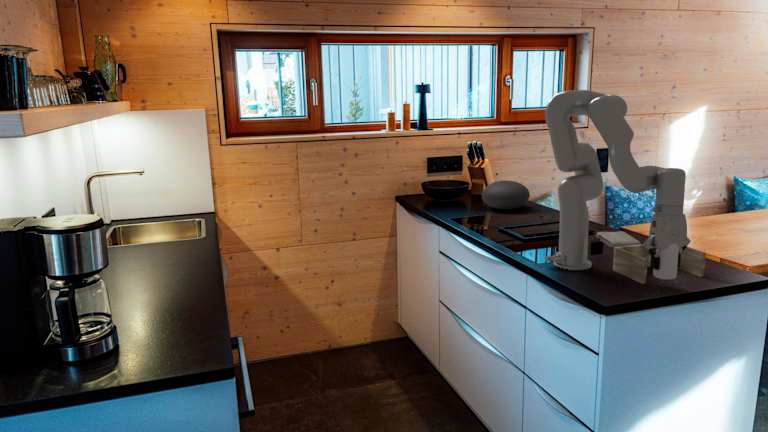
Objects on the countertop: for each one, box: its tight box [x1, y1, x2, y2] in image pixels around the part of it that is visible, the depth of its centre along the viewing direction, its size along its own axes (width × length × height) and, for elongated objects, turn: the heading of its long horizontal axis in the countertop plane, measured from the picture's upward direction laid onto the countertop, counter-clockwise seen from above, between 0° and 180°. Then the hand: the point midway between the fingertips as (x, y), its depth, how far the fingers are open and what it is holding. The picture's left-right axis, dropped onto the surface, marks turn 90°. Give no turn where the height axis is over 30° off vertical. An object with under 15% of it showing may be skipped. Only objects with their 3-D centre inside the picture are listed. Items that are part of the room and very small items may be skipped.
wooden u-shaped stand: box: [612, 243, 707, 285], centre depth 182 cm, size 22×15×8 cm
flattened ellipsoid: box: [481, 179, 531, 210], centre depth 291 cm, size 25×25×15 cm
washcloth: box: [596, 230, 641, 248], centre depth 222 cm, size 12×18×3 cm, turn 0°
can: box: [652, 241, 679, 281], centre depth 168 cm, size 6×6×12 cm
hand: (665, 266), depth 169 cm, fingers closed on can, 6 cm apart
